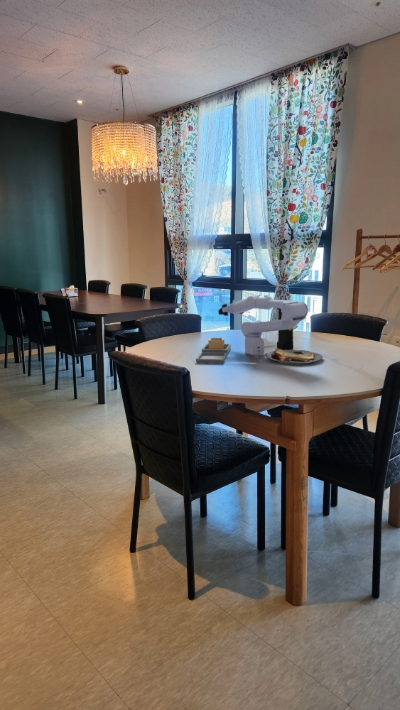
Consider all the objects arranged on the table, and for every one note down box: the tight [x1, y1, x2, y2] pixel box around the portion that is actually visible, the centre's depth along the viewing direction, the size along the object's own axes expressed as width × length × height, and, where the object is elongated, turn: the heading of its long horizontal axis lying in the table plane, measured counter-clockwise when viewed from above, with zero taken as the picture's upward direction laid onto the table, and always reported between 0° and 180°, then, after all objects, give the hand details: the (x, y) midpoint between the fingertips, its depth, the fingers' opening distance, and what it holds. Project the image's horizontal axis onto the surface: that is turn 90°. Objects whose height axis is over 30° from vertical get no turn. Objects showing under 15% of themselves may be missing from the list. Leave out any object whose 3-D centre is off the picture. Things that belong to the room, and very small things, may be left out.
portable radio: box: [276, 297, 295, 350], centre depth 232 cm, size 8×6×25 cm
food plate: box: [264, 347, 324, 365], centre depth 212 cm, size 25×23×4 cm
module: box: [207, 337, 225, 349], centre depth 228 cm, size 5×7×7 cm
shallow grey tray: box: [195, 351, 228, 365], centre depth 214 cm, size 15×12×2 cm
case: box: [201, 343, 232, 356], centre depth 228 cm, size 14×12×3 cm
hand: (225, 311), depth 237 cm, fingers open, 7 cm apart
